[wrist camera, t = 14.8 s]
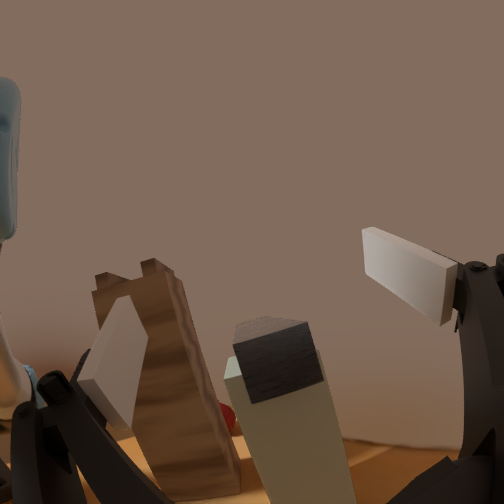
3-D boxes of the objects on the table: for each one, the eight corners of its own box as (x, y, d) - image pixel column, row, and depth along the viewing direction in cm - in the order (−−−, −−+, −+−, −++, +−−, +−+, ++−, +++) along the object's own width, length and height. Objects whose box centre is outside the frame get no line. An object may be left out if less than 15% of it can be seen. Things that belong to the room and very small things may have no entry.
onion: (224, 442, 43) (211, 406, 45) (207, 437, 47) (194, 403, 48) (246, 429, 47) (234, 394, 49) (227, 426, 51) (216, 393, 53)
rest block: (359, 517, 15) (318, 350, 19) (288, 541, 15) (223, 379, 18) (331, 473, 25) (292, 338, 29) (276, 491, 24) (228, 357, 28)
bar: (324, 380, 12) (307, 321, 12) (251, 404, 11) (232, 344, 12) (271, 339, 33) (264, 316, 34) (243, 347, 33) (236, 324, 33)
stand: (240, 493, 25) (161, 255, 31) (168, 501, 24) (89, 277, 30) (240, 459, 35) (178, 269, 41) (181, 469, 34) (119, 285, 40)
